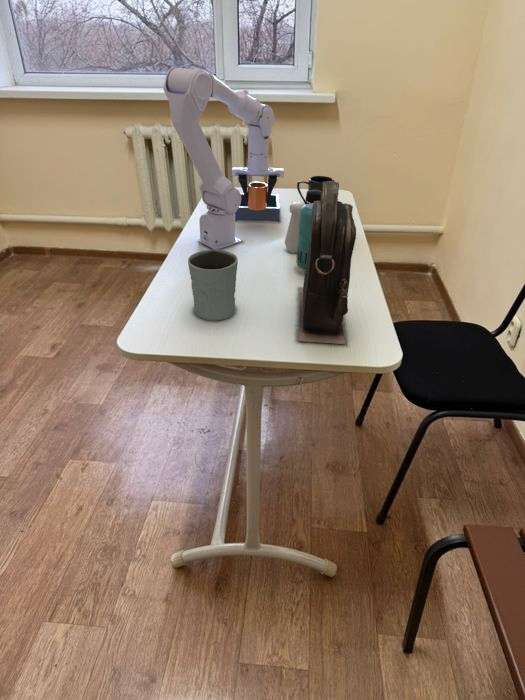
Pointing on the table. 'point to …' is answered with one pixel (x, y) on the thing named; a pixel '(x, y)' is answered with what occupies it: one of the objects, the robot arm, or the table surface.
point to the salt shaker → (293, 227)
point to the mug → (314, 184)
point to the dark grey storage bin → (259, 215)
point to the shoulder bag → (327, 269)
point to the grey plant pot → (213, 283)
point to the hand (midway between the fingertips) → (257, 201)
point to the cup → (257, 196)
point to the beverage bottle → (306, 227)
